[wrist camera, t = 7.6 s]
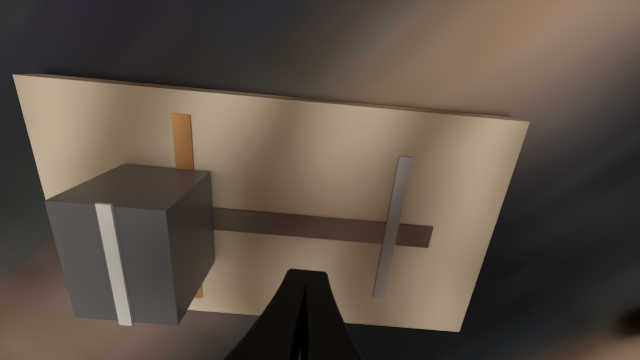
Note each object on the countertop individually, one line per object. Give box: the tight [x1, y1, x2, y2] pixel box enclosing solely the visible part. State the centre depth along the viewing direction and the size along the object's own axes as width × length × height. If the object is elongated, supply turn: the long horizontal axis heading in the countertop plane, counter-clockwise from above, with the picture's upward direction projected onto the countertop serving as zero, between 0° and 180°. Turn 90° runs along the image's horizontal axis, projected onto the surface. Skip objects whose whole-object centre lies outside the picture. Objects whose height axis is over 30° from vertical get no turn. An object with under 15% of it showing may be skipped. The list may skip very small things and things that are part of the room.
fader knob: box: [45, 164, 214, 326], centre depth 12 cm, size 4×5×4 cm
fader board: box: [13, 74, 530, 332], centre depth 15 cm, size 22×12×2 cm, turn 85°
